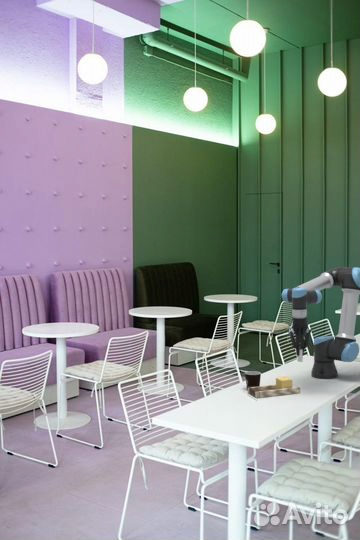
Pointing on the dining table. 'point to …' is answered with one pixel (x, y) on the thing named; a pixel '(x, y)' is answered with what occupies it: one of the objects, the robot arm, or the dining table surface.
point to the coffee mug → (252, 379)
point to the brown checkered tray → (271, 391)
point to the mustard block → (283, 383)
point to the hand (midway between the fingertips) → (300, 361)
